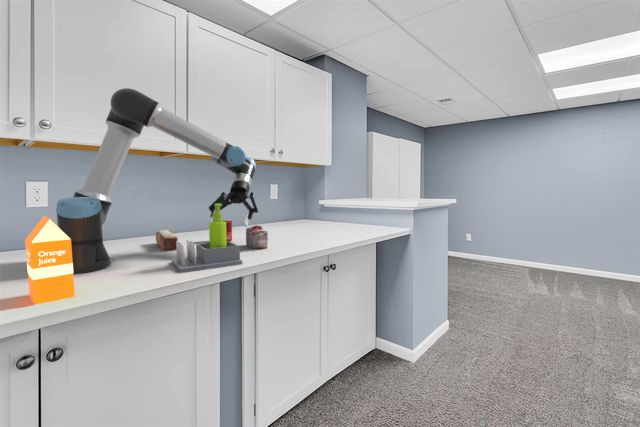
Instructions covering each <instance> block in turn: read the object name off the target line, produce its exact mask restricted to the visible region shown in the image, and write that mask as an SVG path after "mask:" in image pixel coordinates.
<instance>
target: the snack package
mask: <svg viewBox="0 0 640 427" xmlns="http://www.w3.org/2000/svg"><path fill="white" fill-rule="evenodd" d="M155 241H156V243H157V244H158V246H160V248H161V249H162V251H164V252H170V251H171V252H172V251H177V249H176V241H179V238H178V237H177V236H176V235H175V234H173V233H172V232H171V231H170V230H168V229H161V230H158V231H157V232H156V233H155Z"/></svg>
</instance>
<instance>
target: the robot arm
mask: <svg viewBox="0 0 640 427" xmlns="http://www.w3.org/2000/svg"><path fill="white" fill-rule="evenodd" d="M105 124H106V126H107V131H106V132H105V134H104V137H103V139H102V142H101V144H100V146H99V149H98V151H97V153H96V156H95V158H94V160H93V162H92V165H91V167H90V170H89V172H88V174H87V177H86V178H85V182H84V183H83V186H82V188H80V189H77V190H75V192H74V194H73V196H72V197H67V198H62V199H59V200H58V201H57V202H56V208H55V212H56V218H57V219H56V221H57V226H58V227H59V228H60V229H61V230H62V231H63V232H64V233H65V234H66V235H67V236H68V237H69V238H70V239H71V248H72V262H73V275H74V274H84V273H88V272H89V273H90V272H95V271H100V270H103V269H106V268H108V267H110V266H111V258H110V255H109V252H108V251H107V248H106V246H105V245H104V238H103V237H104V236H103V225H104V224H105V223H106V220H107V218H108V213H109V211H110V209H111V206H112V203H113V200H112V198H111V196H110V195H111V193H112V191H113V188H114V187H115V184H116V181H117V179H118V177H119V174H120V172H121V169H122V167H123V165H124V162H125V160H126V158H127V155H128V152H129V150H130V148H131V146H132V142H133V141H134V139H136V138H138V137H140V135H141V134H142V131H143V128H144V127H147V128H155V129H156V130H159V131H161V132H163V133H165V134H167V135H169V136H171V137H173V138H175V139H177V140H179V141H181V142H182V143H185V144H187V145H189V146H191V147H193V148H195V149H198V150H199V151H201V152H203V153H205V154H207V155H209V156H211V160H212V161H213V162H215V163H216V164H217V165H219V166H221V167H223V168H224V169H227V170H228V171H230V172H231V173H233V174H234V175H235V176H234V179H233V181H232V184H231V187H230V189H229V190H230V191H229V192H228V193H226V192H224V191H222V192H221V193H220V195H219V197H217V198H216V200H214V201H213V203H211V205H209V206H208V210H209V211H210V215H209V217H210V221H209V223H210V222H213V213H214V212H215V205H214V204H222V206H220V211H222V210H223V209H225V208H226V207H228V206H230V205H232V204H243V206H244V207H245V208H246V209H247V210H246V213H245V216H244V219H243V226H244V227H245V228H248V226H249V221H250V220H252V218H253V216H254V215H253V214H255V213H256V214H257V213H259V210H258V207H257V205H256V201H255V194H254V192H252V191H251V192H250V193H249V191H250V188H251V185H252V182H253V179H254V176H255V173H256V168H257V164H256V161H255V160H254V159H253V158H252V157H248V156H247V153H246V152H245V150H244V149H243V147H240V146H238V145H237V146H236V145H232V144H231V143H228V142H227V141H224V140H223V139H221V138H219V137H218V136H215V135H214V134H212V133H210V132H208V131H207V130H205V129H203V128H200V127H199V126H197V125H195V124H194V123H191V122H190V121H187V120H185V119H184V118H182V117H180V116H179V115H176V114H174V113H173V112H170V111H168V110H167V109H165V108H163V107H162V106H161V104H160V102H158V101H156V100H154V99H153V98H151V97H149V96H148V95H146V94H143V93H142V92H140V91H138V90H135V89H134V88H121V89H118V90H116V91H115V92H113V94H112V95H111V97H110V109H109V112H108V115H107V117H106V119H105ZM247 199H249V200H250V201H251V204H252V206H251V205H250V204H249V203H248V201H247Z"/></svg>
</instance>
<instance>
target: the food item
mask: <svg viewBox="0 0 640 427" xmlns="http://www.w3.org/2000/svg"><path fill="white" fill-rule="evenodd" d="M268 234H269V233H268V230H264V228H263V227H262V225H257V224H256V225H253V226H252V225H251V226H250V227H246V229H245V243H246V245H247V246H248V248H253V249H255V250H264V249H265V250H266V249H267V248H268V242H269V241H268V240H269V239H268V238H269V236H268Z"/></svg>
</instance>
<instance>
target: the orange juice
mask: <svg viewBox="0 0 640 427" xmlns="http://www.w3.org/2000/svg"><path fill="white" fill-rule="evenodd" d="M24 242H25V253H26V268H27V276H28V277H27V278H28V290H29V291H28V292H29V297H30V299H31V301H32V300H33V301H32V303H33V304H34V305H35V304H38V305H40V304H39V303H43V304H45V303H44V302H47V303H51V302H50V301H52V302H56V301H55V300H57V301H61V300H60V299H62V300H65V299H64V298H66V299H70V297H71V298H75V297H76V296H75V294H76V293H75V280H74V279H75V278H74V274H73V262H72V248H71V239H70V238H69V237H68V236H67V235H66V234H65V233H64V232H63V231H62V230H61V229H60V228H59V227H58V224H57V223H55V222H54V221H52V219H50V218H49V217H47V216H44V215H43V217H42V218H41V219H40V221H39V222H38V223H37V224H36V225H35V227H34V228H33V229H32V231H31V232H30V233H29V234H28V235H27V237H26V238H25V239H24ZM74 296H75V297H74Z"/></svg>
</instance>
